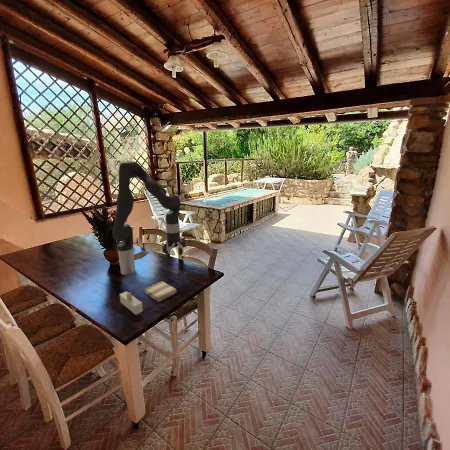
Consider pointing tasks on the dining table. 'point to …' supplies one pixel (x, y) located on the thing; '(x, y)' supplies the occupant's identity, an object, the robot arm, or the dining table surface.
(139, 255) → the wooden fragment
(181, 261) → the dining table surface
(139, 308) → the block
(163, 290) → the maple plate
